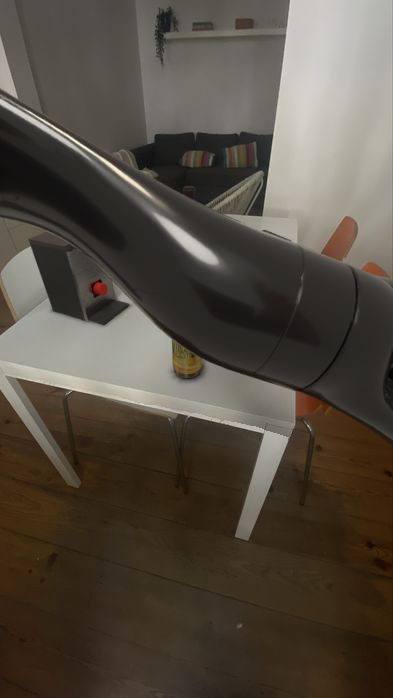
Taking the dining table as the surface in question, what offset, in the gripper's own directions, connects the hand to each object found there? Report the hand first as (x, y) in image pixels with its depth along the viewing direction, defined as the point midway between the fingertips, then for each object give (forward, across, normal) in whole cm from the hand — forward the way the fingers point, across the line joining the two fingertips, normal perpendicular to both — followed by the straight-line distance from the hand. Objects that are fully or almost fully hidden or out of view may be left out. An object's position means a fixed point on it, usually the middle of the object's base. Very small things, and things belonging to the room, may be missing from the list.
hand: (200, 240), depth 43 cm
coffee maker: (+47, +12, +28) cm, 56 cm away
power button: (+43, +9, +23) cm, 50 cm away
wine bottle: (+38, -15, +29) cm, 50 cm away
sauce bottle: (+11, -1, +30) cm, 32 cm away
